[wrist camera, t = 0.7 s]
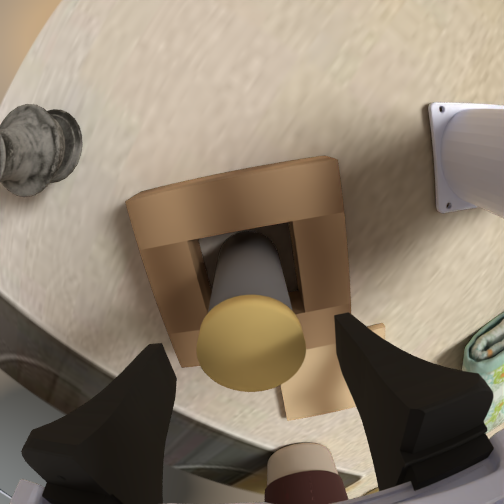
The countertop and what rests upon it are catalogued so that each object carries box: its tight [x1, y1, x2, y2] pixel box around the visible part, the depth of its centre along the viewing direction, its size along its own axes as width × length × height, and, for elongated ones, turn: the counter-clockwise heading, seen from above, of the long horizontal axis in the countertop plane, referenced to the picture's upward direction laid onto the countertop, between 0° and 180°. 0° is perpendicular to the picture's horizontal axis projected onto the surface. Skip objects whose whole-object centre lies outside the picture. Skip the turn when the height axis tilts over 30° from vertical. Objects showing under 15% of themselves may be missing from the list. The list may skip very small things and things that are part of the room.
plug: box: [196, 231, 306, 392], centre depth 17 cm, size 4×4×10 cm
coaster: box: [281, 323, 385, 421], centre depth 26 cm, size 9×9×1 cm
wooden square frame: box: [125, 156, 351, 368], centre depth 20 cm, size 12×12×3 cm
